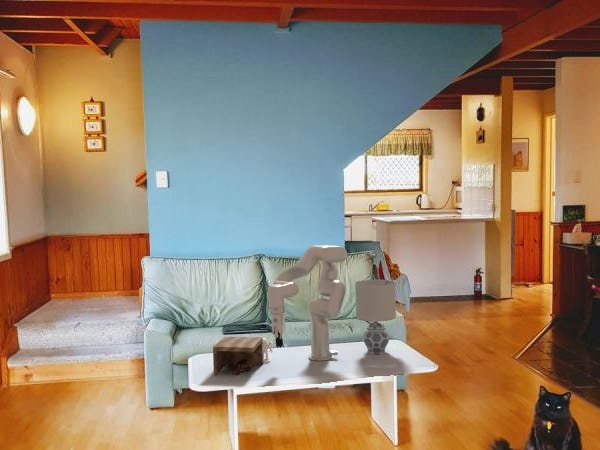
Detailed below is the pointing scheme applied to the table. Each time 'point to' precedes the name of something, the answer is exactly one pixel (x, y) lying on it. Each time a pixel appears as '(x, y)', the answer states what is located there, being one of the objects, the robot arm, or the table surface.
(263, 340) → the cream tall piece
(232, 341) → the open wooden box
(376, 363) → the table surface
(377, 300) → the lamp
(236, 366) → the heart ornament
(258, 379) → the table surface
